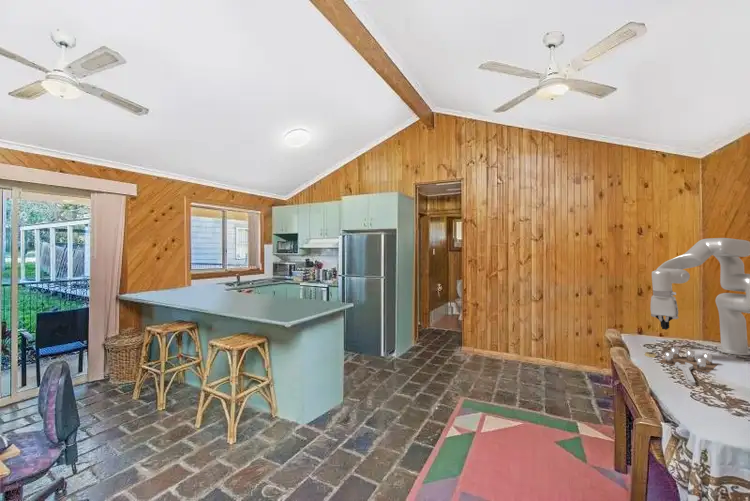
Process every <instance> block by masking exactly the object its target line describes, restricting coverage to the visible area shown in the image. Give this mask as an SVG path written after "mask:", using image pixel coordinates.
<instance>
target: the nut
mask: <svg viewBox="0 0 750 501" xmlns="http://www.w3.org/2000/svg"><path fill="white" fill-rule="evenodd" d="M644 356H645V357H648V358H653V359H655V358H657V353H655V352H652V351H645V352H644Z"/></svg>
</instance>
